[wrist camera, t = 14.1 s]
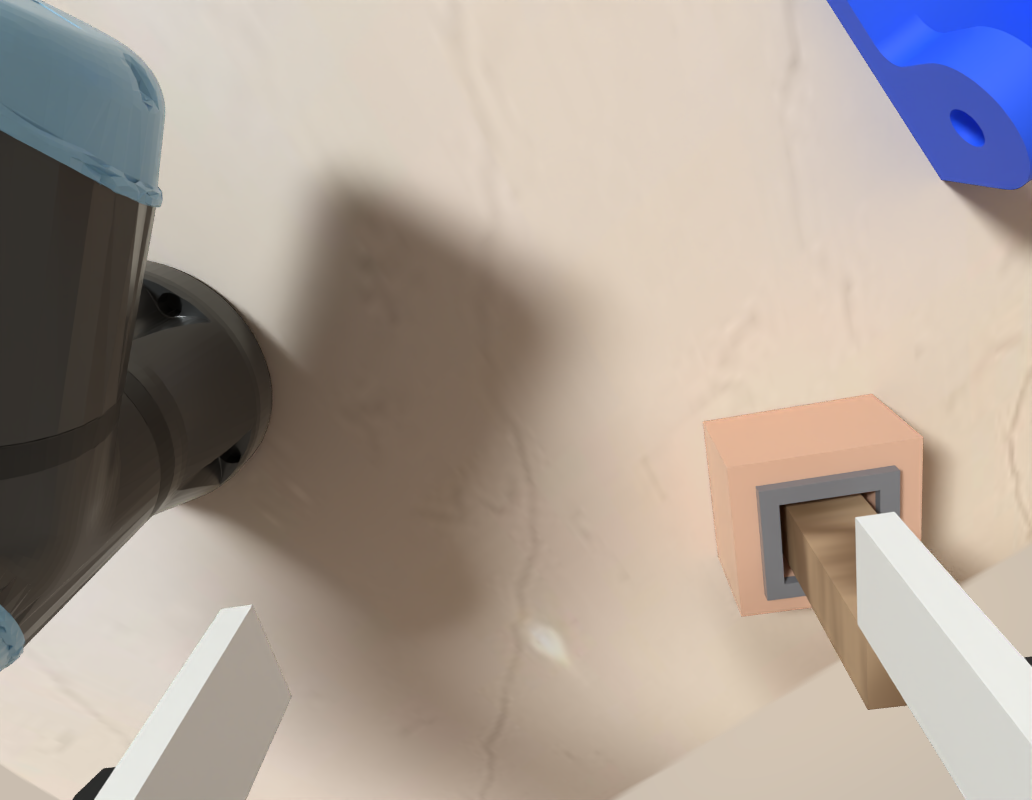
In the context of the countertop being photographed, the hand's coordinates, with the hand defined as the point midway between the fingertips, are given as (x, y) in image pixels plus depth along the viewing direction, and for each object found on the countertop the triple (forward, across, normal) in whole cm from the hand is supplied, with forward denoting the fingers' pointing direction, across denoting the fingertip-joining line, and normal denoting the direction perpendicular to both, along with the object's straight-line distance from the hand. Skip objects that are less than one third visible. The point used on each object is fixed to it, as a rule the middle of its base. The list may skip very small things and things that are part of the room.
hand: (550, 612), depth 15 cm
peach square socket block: (+27, +13, -14) cm, 33 cm away
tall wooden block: (+25, +13, -14) cm, 31 cm away
